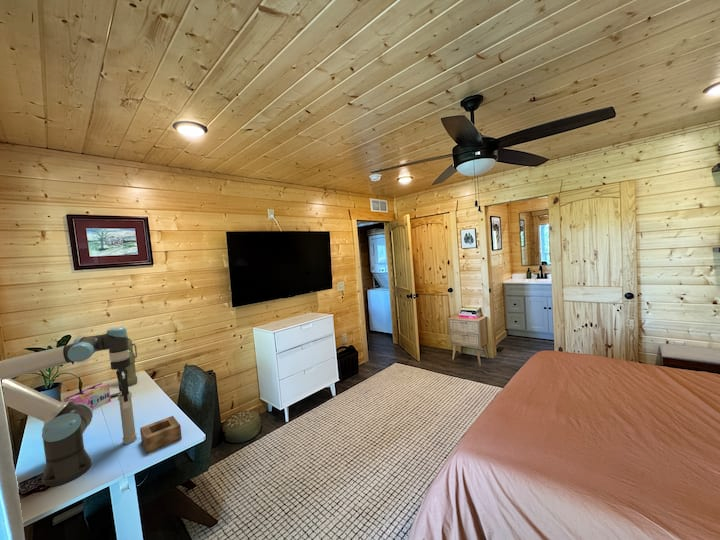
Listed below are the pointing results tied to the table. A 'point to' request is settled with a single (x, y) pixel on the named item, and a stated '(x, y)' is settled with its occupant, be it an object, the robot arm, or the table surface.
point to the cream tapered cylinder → (127, 421)
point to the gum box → (92, 396)
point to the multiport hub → (114, 395)
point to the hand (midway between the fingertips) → (125, 405)
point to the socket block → (160, 434)
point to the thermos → (131, 365)
